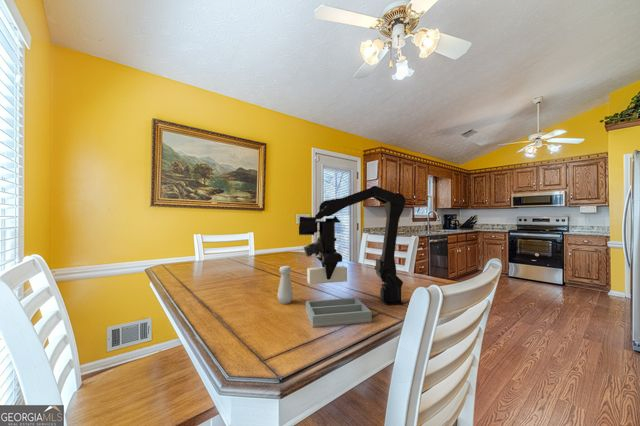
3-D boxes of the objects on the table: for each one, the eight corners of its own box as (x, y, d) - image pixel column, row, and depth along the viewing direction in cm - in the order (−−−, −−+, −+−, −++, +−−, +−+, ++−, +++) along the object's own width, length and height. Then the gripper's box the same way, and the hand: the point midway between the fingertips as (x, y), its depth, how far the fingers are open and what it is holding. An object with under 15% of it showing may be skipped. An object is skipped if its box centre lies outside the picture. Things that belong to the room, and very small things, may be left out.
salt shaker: (285, 305, 88) (285, 268, 88) (273, 302, 91) (274, 266, 92) (296, 301, 92) (296, 266, 93) (285, 298, 96) (285, 264, 96)
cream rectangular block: (343, 279, 95) (343, 265, 95) (347, 281, 91) (346, 267, 91) (307, 281, 91) (307, 268, 91) (309, 284, 87) (309, 269, 88)
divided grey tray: (356, 306, 87) (356, 297, 87) (371, 321, 74) (371, 311, 74) (305, 310, 83) (305, 301, 84) (312, 327, 70) (312, 316, 70)
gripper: (301, 234, 99) (302, 273, 99) (309, 237, 81) (309, 286, 80) (329, 233, 101) (329, 272, 101) (342, 236, 83) (342, 284, 83)
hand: (327, 278), depth 91 cm, fingers closed on cream rectangular block, 4 cm apart
